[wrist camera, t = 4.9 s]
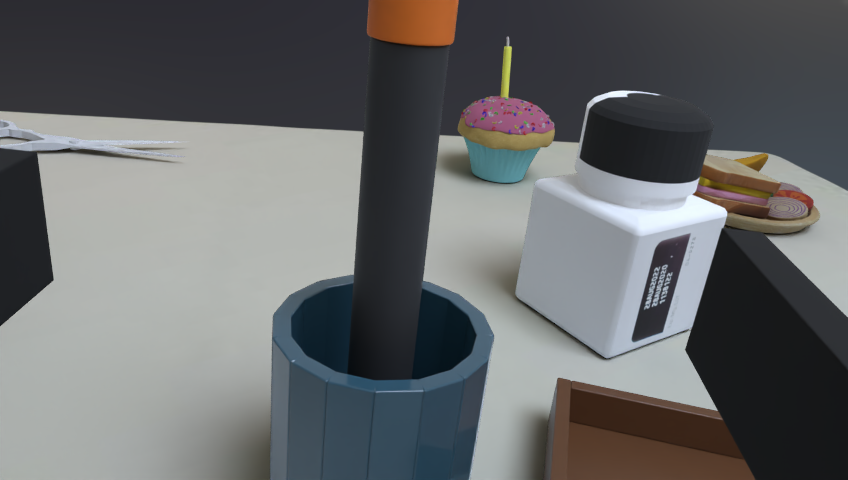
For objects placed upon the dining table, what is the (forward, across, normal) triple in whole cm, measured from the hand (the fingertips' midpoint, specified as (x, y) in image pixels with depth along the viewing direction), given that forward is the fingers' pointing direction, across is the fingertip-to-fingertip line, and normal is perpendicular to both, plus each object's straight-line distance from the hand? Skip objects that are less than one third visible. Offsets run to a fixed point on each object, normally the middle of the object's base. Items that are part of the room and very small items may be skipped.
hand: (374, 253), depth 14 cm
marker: (+8, 0, -13) cm, 15 cm away
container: (+25, +12, -14) cm, 31 cm away
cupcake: (+49, +7, -14) cm, 51 cm away
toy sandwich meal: (+46, +28, -14) cm, 56 cm away
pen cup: (+8, 0, -14) cm, 16 cm away
